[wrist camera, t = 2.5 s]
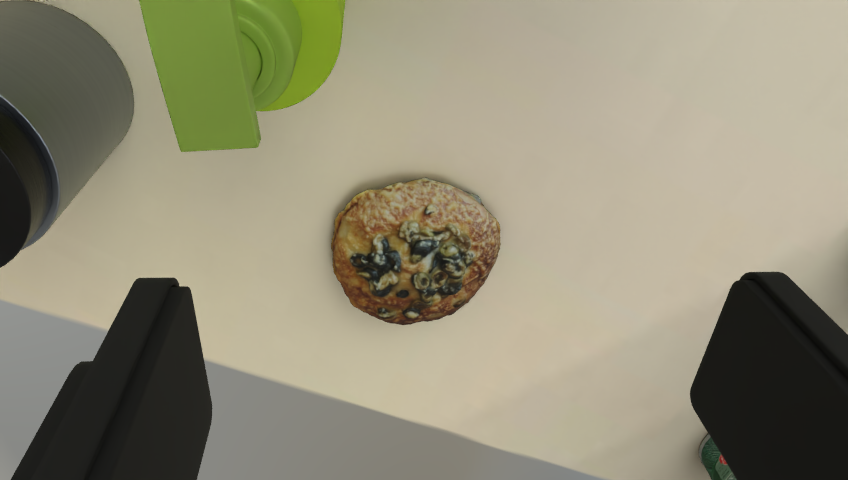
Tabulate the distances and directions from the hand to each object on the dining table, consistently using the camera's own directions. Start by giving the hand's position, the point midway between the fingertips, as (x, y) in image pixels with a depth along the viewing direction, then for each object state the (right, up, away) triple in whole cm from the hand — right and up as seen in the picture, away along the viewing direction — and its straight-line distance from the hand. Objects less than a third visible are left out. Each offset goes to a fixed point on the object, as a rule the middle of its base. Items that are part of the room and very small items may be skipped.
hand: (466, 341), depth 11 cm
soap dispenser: (-8, +16, +20) cm, 27 cm away
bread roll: (-1, +2, +30) cm, 30 cm away
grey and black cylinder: (-21, +10, +22) cm, 33 cm away
